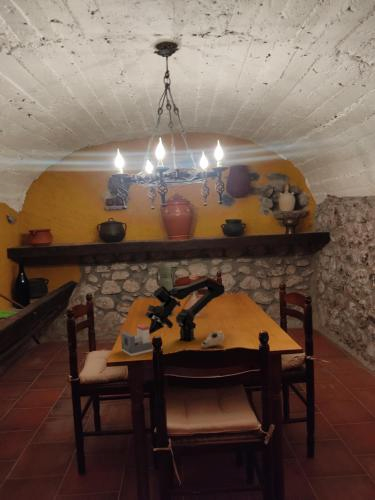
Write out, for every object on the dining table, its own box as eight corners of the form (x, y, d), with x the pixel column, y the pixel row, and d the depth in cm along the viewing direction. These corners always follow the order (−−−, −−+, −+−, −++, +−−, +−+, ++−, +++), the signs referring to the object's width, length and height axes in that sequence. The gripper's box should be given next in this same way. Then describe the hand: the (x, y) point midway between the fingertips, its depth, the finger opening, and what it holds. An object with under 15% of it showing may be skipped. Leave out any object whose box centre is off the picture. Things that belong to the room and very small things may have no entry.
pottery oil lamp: (197, 345, 206) (197, 331, 206) (219, 342, 210) (219, 328, 210) (204, 350, 198) (203, 336, 198) (227, 347, 202) (226, 333, 202)
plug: (144, 344, 206) (143, 324, 206) (149, 347, 201) (148, 326, 201) (126, 348, 201) (126, 327, 200) (132, 351, 196) (131, 330, 195)
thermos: (157, 314, 276) (155, 261, 273) (175, 313, 277) (173, 261, 274) (158, 317, 267) (156, 263, 264) (176, 316, 268) (174, 262, 266)
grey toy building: (146, 343, 209) (145, 327, 209) (156, 348, 201) (155, 331, 200) (122, 348, 202) (121, 332, 201) (131, 353, 194) (130, 337, 193)
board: (146, 345, 209) (146, 343, 209) (156, 350, 201) (156, 348, 201) (122, 350, 202) (122, 348, 202) (131, 356, 194) (131, 353, 194)
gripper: (148, 296, 214) (129, 320, 208) (166, 301, 198) (147, 328, 193) (161, 308, 218) (144, 333, 213) (181, 315, 203) (162, 341, 198)
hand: (148, 333), depth 204 cm, fingers closed
